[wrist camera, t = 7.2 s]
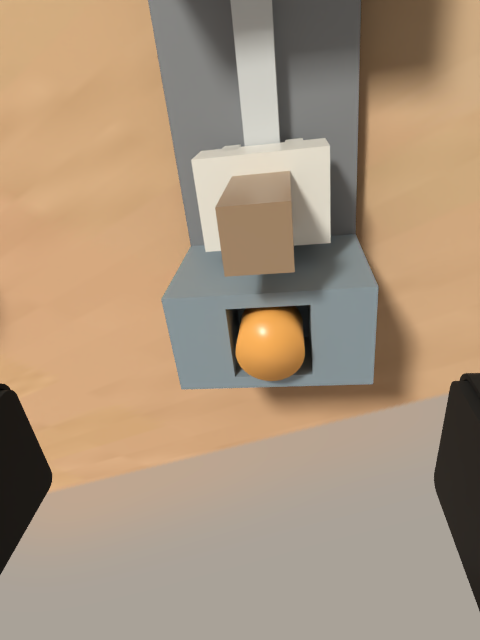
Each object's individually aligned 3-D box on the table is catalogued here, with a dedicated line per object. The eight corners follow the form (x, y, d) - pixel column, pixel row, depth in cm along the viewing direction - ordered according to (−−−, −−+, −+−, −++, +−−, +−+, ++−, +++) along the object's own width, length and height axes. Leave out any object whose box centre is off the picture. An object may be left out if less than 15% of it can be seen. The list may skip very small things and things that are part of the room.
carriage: (323, 135, 24) (344, 168, 16) (324, 221, 27) (343, 290, 18) (204, 148, 25) (161, 186, 17) (215, 229, 28) (183, 299, 19)
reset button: (301, 294, 24) (303, 322, 21) (304, 348, 25) (305, 380, 23) (237, 298, 24) (231, 325, 21) (244, 351, 26) (239, 382, 23)
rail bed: (363, -309, 18) (428, -639, 10) (350, 304, 32) (373, 384, 24) (100, -246, 19) (-36, -480, 11) (199, 312, 33) (171, 389, 25)
